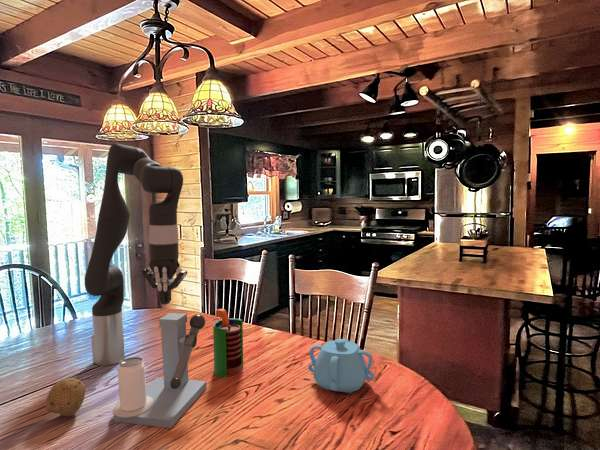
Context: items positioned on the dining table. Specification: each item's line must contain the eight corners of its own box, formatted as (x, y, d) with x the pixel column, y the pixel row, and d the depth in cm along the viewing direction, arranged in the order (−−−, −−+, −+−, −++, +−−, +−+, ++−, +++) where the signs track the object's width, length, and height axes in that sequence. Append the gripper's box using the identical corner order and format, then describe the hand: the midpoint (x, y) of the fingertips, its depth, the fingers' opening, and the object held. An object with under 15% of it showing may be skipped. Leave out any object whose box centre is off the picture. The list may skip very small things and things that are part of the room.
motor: (235, 378, 121) (233, 315, 119) (209, 376, 123) (206, 314, 121) (246, 364, 131) (244, 306, 129) (221, 362, 132) (219, 305, 131)
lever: (169, 391, 103) (162, 384, 100) (195, 319, 118) (190, 311, 114) (184, 392, 102) (178, 386, 99) (209, 319, 117) (204, 311, 113)
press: (104, 422, 99) (98, 337, 97) (152, 382, 119) (148, 311, 117) (168, 430, 95) (164, 342, 93) (206, 387, 115) (203, 314, 113)
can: (126, 399, 105) (123, 356, 104) (150, 398, 106) (147, 355, 105) (115, 412, 99) (112, 367, 98) (141, 411, 99) (138, 366, 98)
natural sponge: (46, 430, 96) (43, 391, 95) (47, 413, 103) (44, 377, 103) (88, 418, 101) (85, 381, 100) (85, 403, 108) (83, 368, 107)
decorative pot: (353, 368, 126) (352, 327, 125) (378, 392, 111) (378, 345, 110) (306, 377, 121) (305, 334, 120) (326, 403, 106) (325, 354, 105)
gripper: (193, 240, 107) (193, 301, 108) (150, 238, 110) (152, 298, 111) (178, 244, 99) (179, 309, 101) (133, 242, 102) (135, 305, 104)
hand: (165, 303), depth 106 cm, fingers closed
